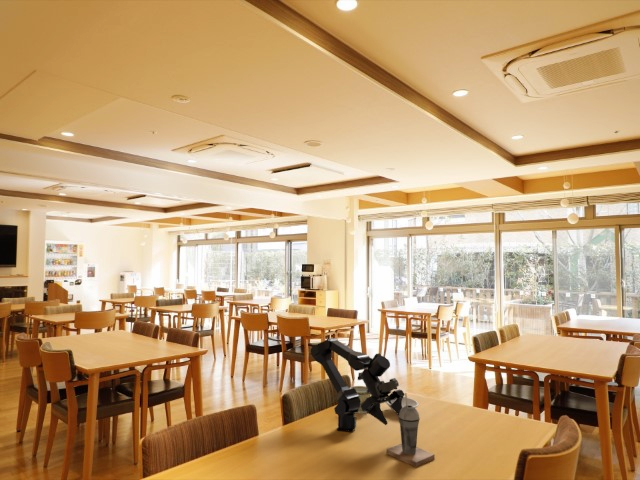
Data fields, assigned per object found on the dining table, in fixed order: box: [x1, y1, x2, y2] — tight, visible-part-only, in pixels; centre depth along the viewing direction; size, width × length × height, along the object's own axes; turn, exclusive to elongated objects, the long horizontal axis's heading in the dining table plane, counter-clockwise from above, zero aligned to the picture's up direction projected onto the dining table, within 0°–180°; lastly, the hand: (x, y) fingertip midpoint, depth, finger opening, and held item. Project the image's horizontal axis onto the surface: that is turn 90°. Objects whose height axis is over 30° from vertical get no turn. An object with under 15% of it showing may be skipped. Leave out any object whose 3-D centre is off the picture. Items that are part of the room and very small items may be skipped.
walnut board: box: [385, 443, 436, 468], centre depth 149 cm, size 13×10×2 cm
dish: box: [385, 396, 420, 411], centre depth 195 cm, size 18×14×5 cm
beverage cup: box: [398, 392, 421, 455], centre depth 150 cm, size 7×7×20 cm
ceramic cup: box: [349, 385, 372, 415], centre depth 197 cm, size 13×10×10 cm
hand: (395, 421), depth 155 cm, fingers open, 9 cm apart
